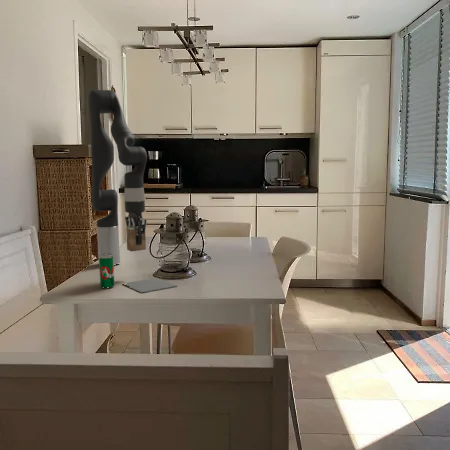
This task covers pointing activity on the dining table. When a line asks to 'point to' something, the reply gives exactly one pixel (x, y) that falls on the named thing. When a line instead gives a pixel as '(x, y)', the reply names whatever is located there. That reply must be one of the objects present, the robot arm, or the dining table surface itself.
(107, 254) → the soda can
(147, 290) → the mat
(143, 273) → the dining table surface
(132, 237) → the block
